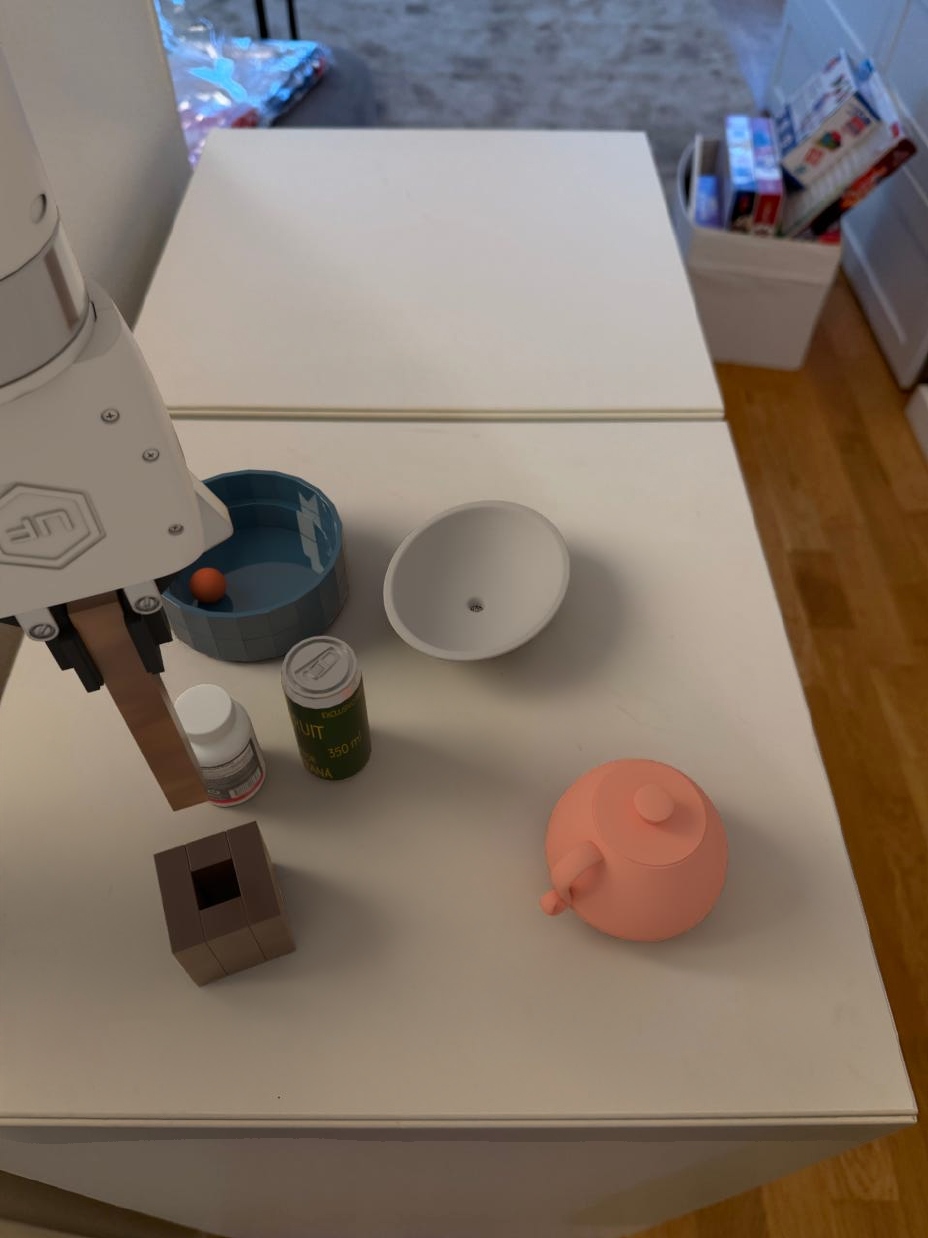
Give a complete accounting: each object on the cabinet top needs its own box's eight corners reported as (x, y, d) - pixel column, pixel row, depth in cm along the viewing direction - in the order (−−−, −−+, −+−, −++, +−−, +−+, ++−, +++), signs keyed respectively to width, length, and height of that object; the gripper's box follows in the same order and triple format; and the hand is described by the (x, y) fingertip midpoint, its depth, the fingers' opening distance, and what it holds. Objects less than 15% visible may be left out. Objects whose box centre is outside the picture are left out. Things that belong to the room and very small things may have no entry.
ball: (197, 614, 78) (189, 592, 75) (190, 588, 79) (182, 565, 77) (232, 604, 78) (226, 582, 76) (225, 579, 80) (218, 556, 77)
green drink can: (335, 711, 73) (318, 620, 63) (386, 749, 71) (377, 661, 61) (287, 758, 70) (261, 670, 61) (338, 799, 68) (320, 715, 59)
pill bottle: (194, 749, 70) (162, 679, 63) (265, 739, 71) (242, 668, 63) (194, 814, 67) (160, 748, 59) (268, 803, 68) (244, 737, 60)
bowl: (181, 689, 74) (161, 642, 69) (148, 547, 83) (127, 496, 78) (372, 633, 77) (367, 584, 72) (320, 502, 86) (312, 450, 81)
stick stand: (197, 987, 60) (171, 953, 54) (178, 894, 64) (152, 854, 58) (296, 950, 62) (281, 914, 56) (272, 862, 65) (255, 819, 60)
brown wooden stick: (173, 812, 51) (67, 614, 37) (167, 781, 52) (61, 578, 38) (209, 801, 51) (118, 601, 37) (202, 770, 53) (111, 565, 38)
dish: (501, 725, 72) (505, 691, 68) (348, 650, 76) (343, 613, 72) (596, 575, 81) (604, 537, 77) (455, 515, 86) (455, 476, 82)
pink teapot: (752, 892, 64) (796, 831, 56) (592, 1003, 60) (614, 955, 52) (642, 759, 70) (667, 686, 62) (489, 850, 66) (494, 785, 58)
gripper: (-394, 439, 23) (-64, 783, 37) (246, 314, 26) (317, 673, 41) (-349, 273, 27) (-69, 641, 42) (197, 184, 30) (278, 552, 45)
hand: (122, 655), depth 41 cm, fingers closed on brown wooden stick, 2 cm apart
